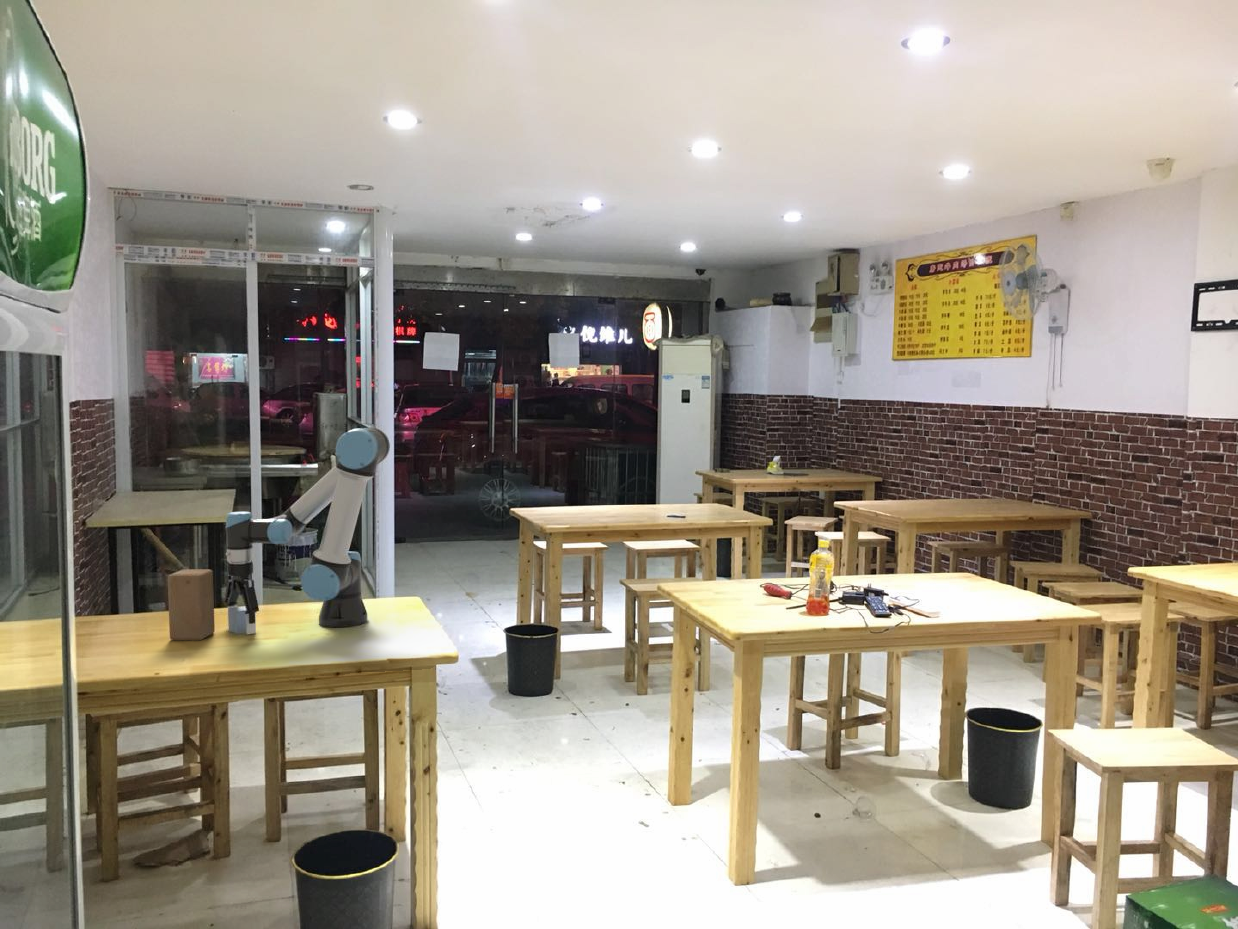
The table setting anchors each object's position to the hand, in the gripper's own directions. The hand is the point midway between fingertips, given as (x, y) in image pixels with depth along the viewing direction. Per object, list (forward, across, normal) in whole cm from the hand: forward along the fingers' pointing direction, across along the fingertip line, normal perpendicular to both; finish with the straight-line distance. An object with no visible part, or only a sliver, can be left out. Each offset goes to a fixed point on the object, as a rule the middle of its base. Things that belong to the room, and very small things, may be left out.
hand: (241, 630), depth 303 cm
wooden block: (0, -3, -14) cm, 14 cm away
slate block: (0, 0, 0) cm, 0 cm away
